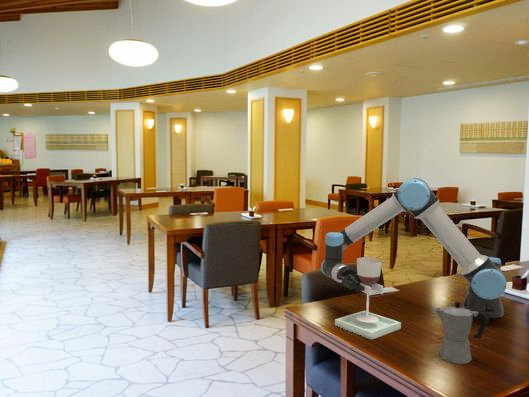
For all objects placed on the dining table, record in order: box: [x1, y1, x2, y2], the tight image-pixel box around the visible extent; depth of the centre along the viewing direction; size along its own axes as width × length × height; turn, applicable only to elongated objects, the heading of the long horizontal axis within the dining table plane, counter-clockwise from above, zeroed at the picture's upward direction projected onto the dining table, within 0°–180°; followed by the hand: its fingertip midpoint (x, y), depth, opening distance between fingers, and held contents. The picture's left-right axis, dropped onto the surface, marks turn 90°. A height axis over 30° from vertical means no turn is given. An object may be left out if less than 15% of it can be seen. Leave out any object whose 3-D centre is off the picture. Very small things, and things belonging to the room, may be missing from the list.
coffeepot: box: [434, 301, 490, 365], centre depth 143 cm, size 15×9×18 cm, turn 66°
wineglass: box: [356, 256, 382, 323], centre depth 169 cm, size 9×10×22 cm
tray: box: [334, 310, 402, 340], centre depth 170 cm, size 17×17×2 cm
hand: (376, 290), depth 164 cm, fingers closed on wineglass, 4 cm apart
